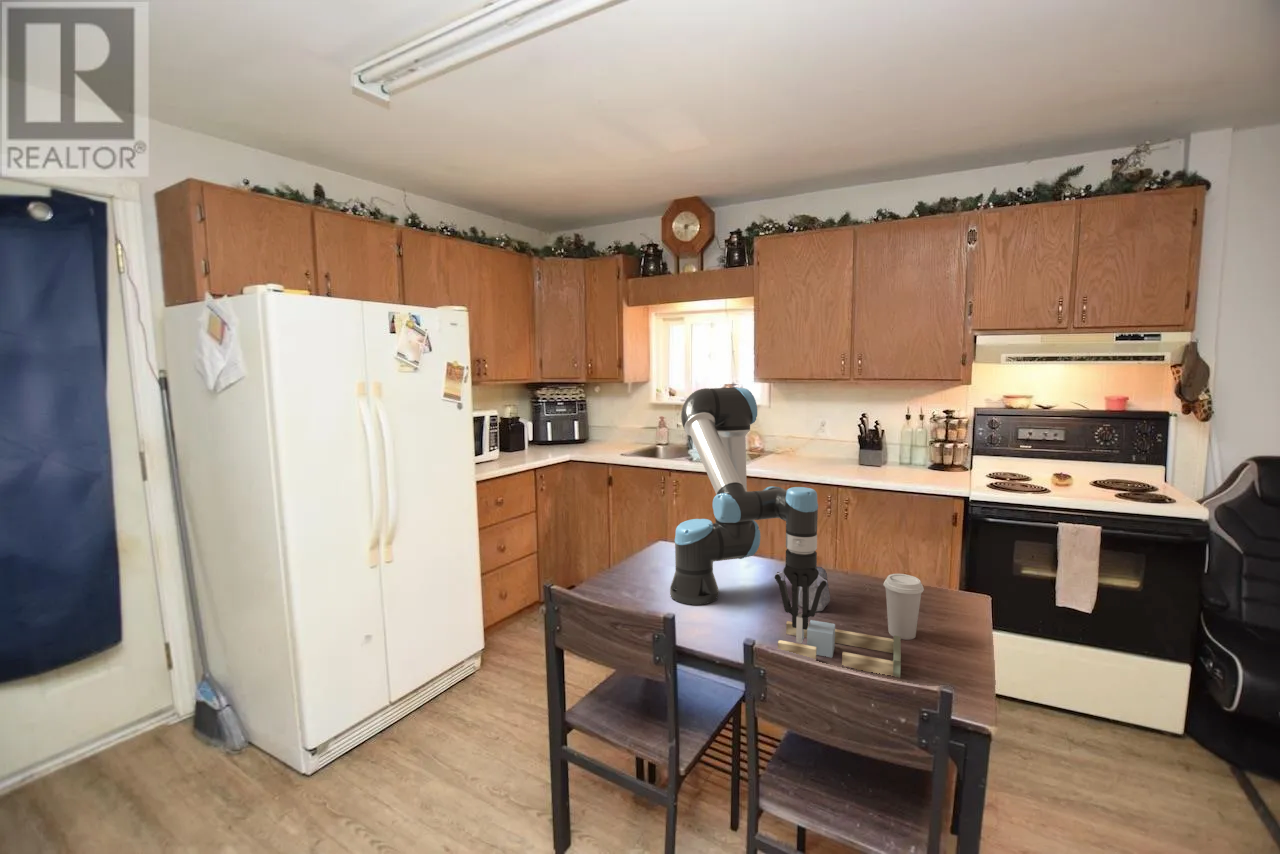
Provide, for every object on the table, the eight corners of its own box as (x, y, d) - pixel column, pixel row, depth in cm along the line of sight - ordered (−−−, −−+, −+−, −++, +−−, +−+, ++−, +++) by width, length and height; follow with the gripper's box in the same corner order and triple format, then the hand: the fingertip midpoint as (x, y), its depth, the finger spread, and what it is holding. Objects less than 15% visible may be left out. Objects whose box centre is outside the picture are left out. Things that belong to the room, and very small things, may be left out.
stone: (804, 601, 173) (836, 597, 168) (799, 620, 165) (832, 616, 160) (791, 567, 172) (823, 562, 167) (785, 584, 163) (819, 579, 158)
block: (806, 652, 138) (807, 629, 138) (810, 642, 144) (810, 619, 143) (832, 657, 136) (832, 634, 135) (834, 646, 141) (835, 623, 141)
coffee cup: (875, 626, 152) (876, 573, 150) (908, 624, 153) (910, 571, 151) (894, 643, 143) (896, 586, 141) (929, 641, 143) (932, 585, 142)
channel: (777, 654, 138) (777, 638, 138) (787, 631, 150) (787, 617, 149) (900, 678, 127) (900, 661, 126) (899, 651, 138) (900, 636, 138)
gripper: (771, 551, 139) (771, 641, 141) (826, 557, 133) (824, 652, 136) (777, 542, 146) (777, 629, 148) (830, 548, 140) (828, 638, 142)
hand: (799, 640), depth 142 cm, fingers closed
